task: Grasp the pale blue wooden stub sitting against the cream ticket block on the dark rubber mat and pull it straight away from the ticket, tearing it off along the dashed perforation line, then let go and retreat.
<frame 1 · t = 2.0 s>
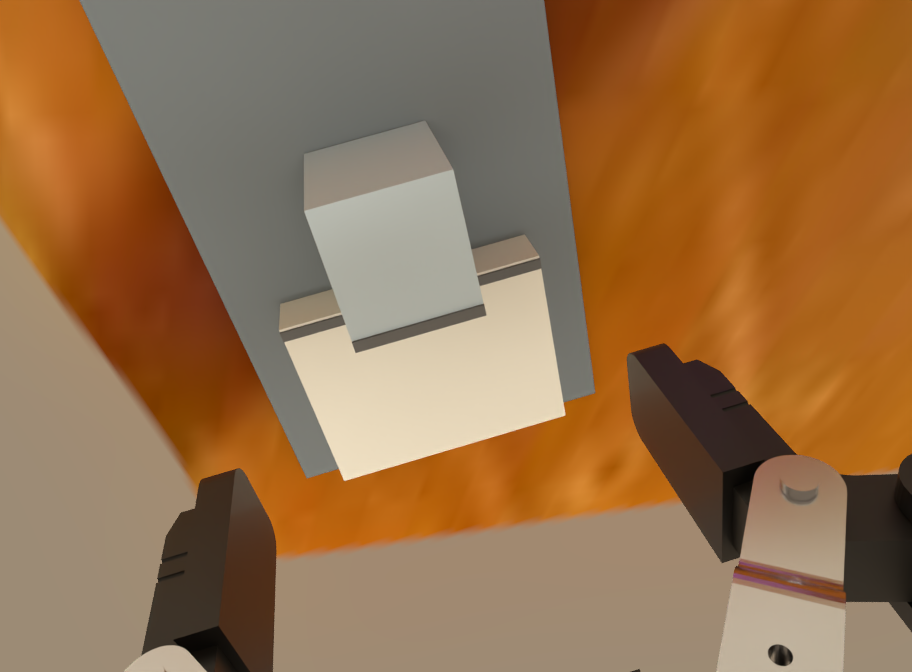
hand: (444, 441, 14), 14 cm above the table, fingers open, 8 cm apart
stub: (391, 231, 23), point 3 cm above the table, slide at 0.0 cm
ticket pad: (391, 228, 27), on the table
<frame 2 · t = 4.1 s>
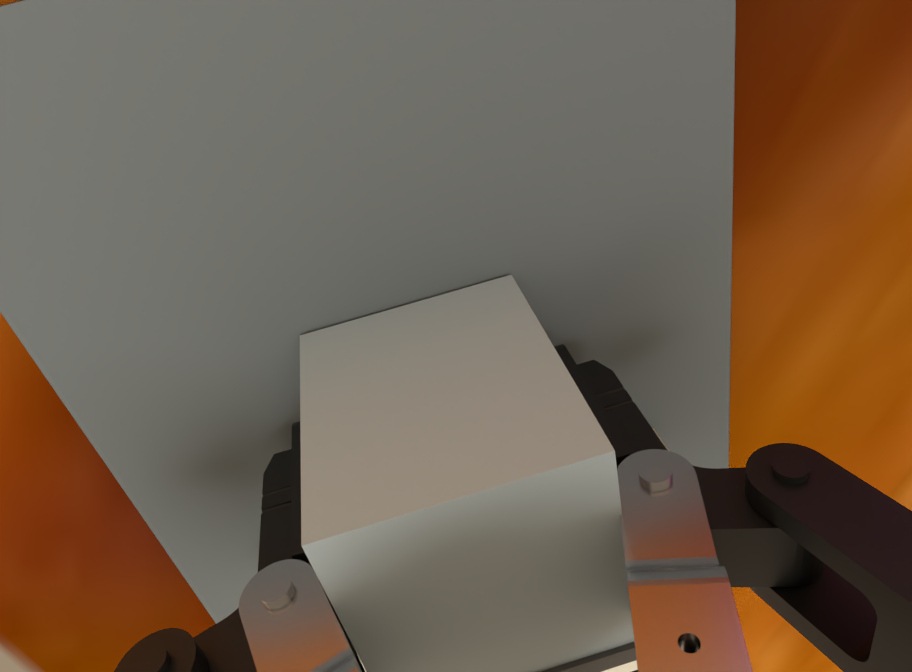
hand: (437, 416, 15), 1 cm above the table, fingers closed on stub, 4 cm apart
stub: (459, 487, 13), point 3 cm above the table, slide at 0.0 cm, touching gripper
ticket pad: (442, 426, 16), on the table
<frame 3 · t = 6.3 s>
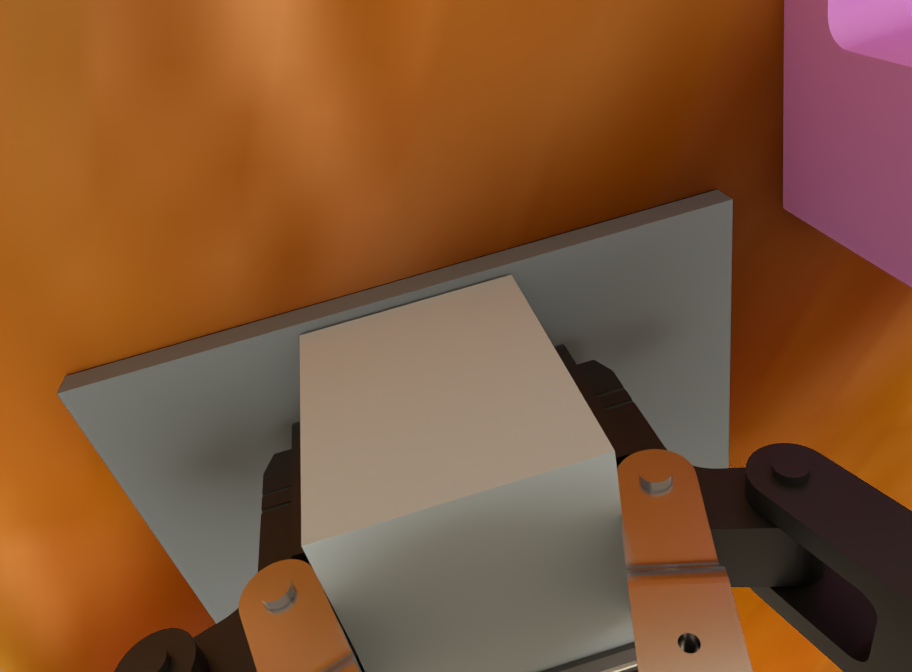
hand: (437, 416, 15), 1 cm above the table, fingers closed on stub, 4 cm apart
stub: (459, 487, 13), point 3 cm above the table, slide at 6.4 cm, touching gripper
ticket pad: (490, 588, 20), on the table
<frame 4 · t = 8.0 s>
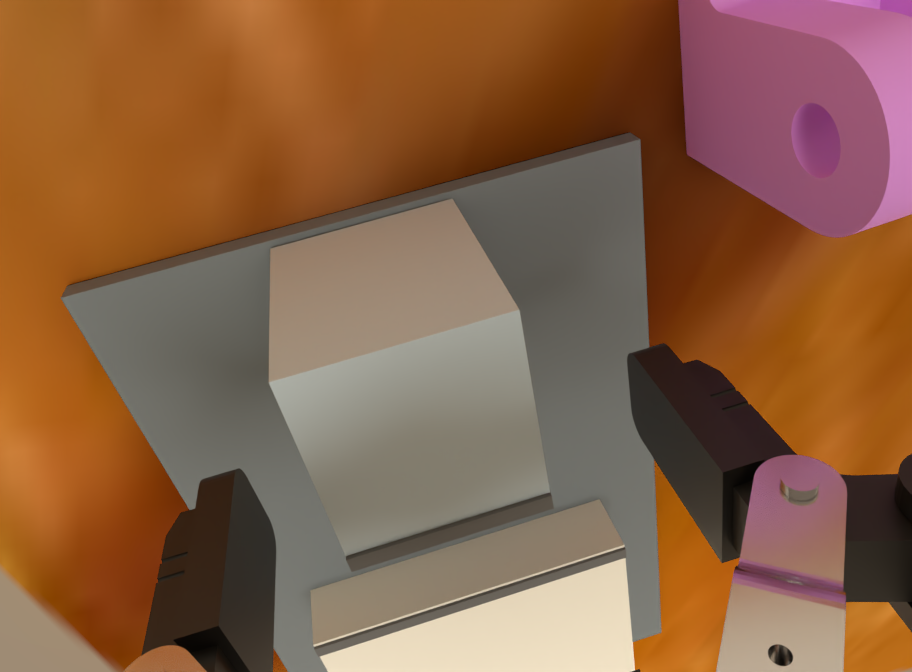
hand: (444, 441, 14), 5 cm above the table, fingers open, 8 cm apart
stub: (405, 372, 15), point 3 cm above the table, slide at 6.5 cm
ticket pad: (444, 500, 22), on the table
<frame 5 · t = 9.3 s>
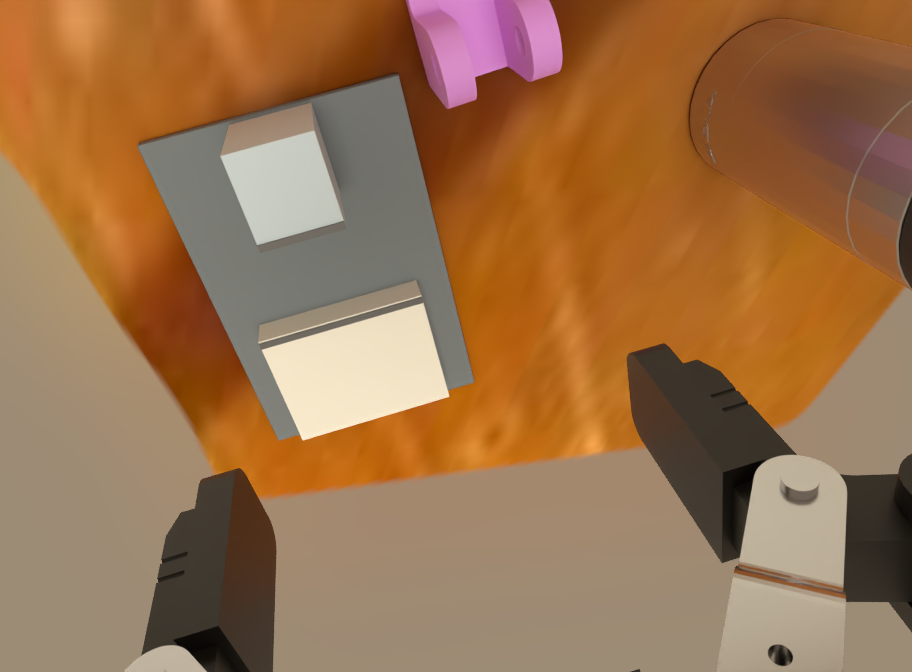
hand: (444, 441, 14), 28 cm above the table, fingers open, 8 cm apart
stub: (286, 175, 35), point 3 cm above the table, slide at 6.5 cm
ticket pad: (330, 277, 42), on the table
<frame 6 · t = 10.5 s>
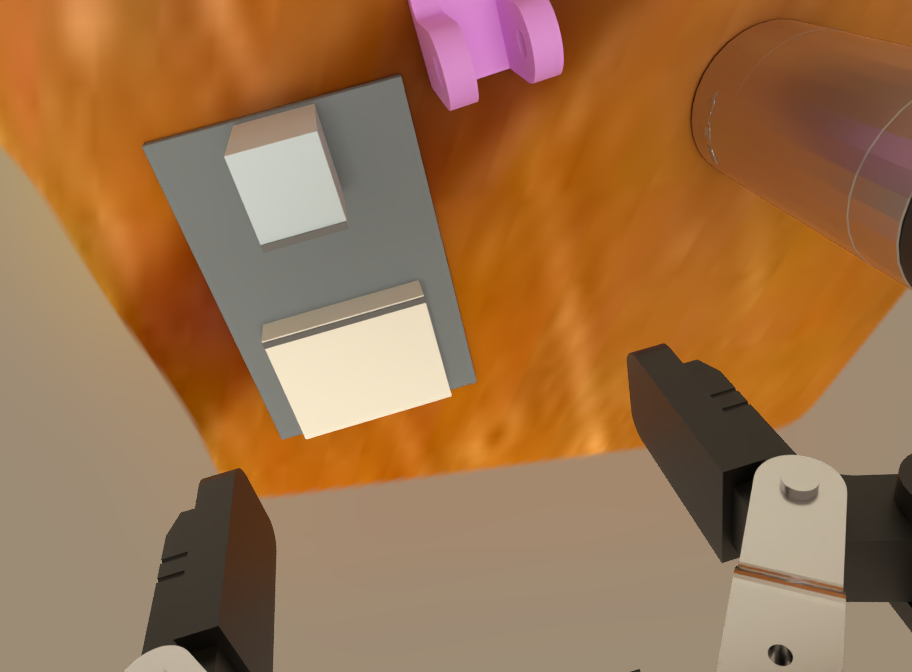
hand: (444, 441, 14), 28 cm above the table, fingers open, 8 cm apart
stub: (289, 176, 35), point 3 cm above the table, slide at 6.5 cm
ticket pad: (333, 277, 42), on the table
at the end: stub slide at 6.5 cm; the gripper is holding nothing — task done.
